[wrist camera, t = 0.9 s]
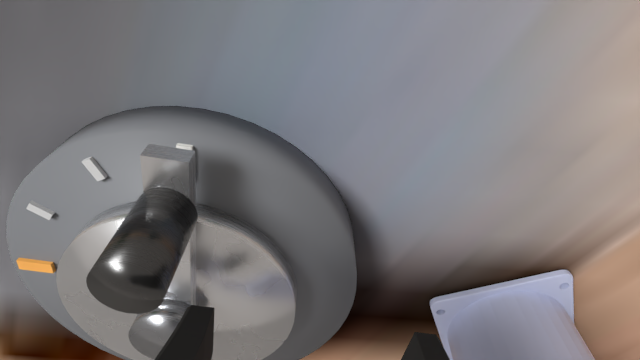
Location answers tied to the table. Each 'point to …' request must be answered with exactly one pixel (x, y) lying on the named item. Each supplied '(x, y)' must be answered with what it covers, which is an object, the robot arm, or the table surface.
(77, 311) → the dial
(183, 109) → the dial base
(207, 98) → the table surface
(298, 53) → the table surface
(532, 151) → the table surface
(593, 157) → the table surface
